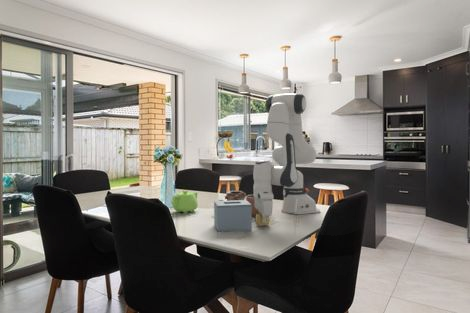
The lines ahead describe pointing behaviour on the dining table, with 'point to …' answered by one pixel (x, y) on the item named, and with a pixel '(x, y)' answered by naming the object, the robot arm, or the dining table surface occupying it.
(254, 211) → the planter
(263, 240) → the dining table surface
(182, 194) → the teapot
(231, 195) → the decorative box
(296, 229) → the dining table surface
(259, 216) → the block
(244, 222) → the moneybox
